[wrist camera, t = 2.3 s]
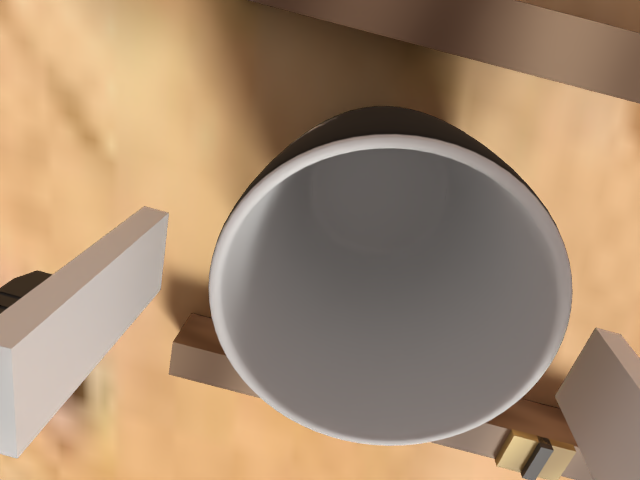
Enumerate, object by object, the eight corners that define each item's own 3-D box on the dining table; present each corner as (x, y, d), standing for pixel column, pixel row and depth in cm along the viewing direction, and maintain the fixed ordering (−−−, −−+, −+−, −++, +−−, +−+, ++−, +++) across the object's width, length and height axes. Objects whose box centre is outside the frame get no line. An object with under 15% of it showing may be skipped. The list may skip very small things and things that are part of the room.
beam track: (186, 344, 25) (156, 396, 22) (246, -64, 17) (213, -89, 14) (725, 483, 26) (783, 559, 22) (1026, 142, 18) (1196, 171, 14)
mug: (340, 39, 19) (308, 49, 9) (527, 152, 20) (666, 260, 10) (220, 270, 23) (121, 427, 14) (376, 351, 24) (378, 547, 15)
